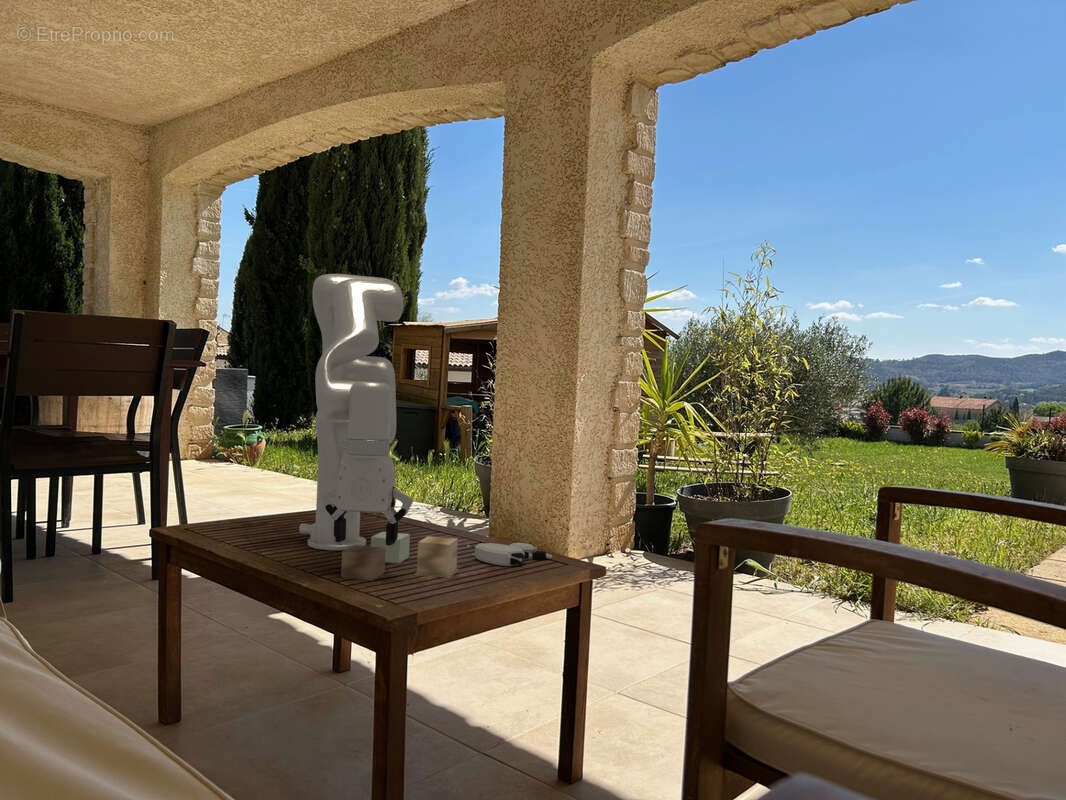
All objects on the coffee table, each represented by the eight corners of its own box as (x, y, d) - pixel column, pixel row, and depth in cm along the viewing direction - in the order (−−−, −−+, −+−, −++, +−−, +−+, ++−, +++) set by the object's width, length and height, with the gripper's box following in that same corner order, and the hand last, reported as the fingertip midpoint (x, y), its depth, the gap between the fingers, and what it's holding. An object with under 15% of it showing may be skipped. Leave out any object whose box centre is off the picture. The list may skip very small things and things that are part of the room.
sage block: (369, 567, 158) (371, 537, 158) (380, 560, 164) (381, 531, 164) (398, 569, 157) (400, 539, 157) (408, 563, 163) (409, 534, 162)
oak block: (416, 574, 149) (418, 542, 149) (426, 566, 155) (427, 536, 154) (447, 576, 148) (449, 544, 148) (456, 569, 154) (457, 538, 153)
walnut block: (340, 584, 144) (342, 551, 144) (353, 576, 150) (355, 545, 150) (372, 587, 143) (373, 554, 143) (384, 579, 149) (385, 547, 149)
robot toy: (513, 559, 175) (462, 563, 164) (515, 538, 175) (465, 541, 164) (555, 570, 166) (504, 575, 155) (557, 548, 166) (507, 552, 155)
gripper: (315, 448, 143) (311, 543, 143) (407, 452, 140) (403, 549, 140) (332, 446, 151) (329, 536, 151) (420, 450, 148) (417, 542, 148)
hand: (365, 542), depth 145 cm, fingers open, 9 cm apart
